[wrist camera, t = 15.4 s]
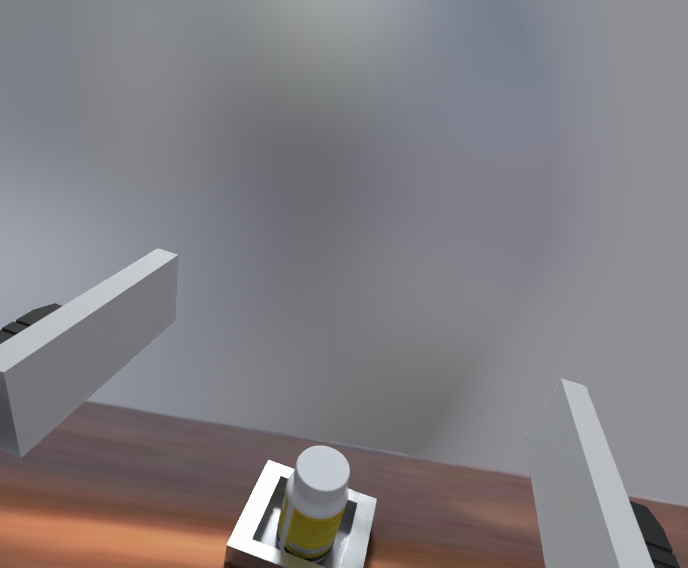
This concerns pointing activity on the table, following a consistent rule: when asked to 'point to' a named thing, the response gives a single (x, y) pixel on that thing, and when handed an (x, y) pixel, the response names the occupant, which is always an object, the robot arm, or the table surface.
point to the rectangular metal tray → (262, 520)
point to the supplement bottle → (313, 504)
